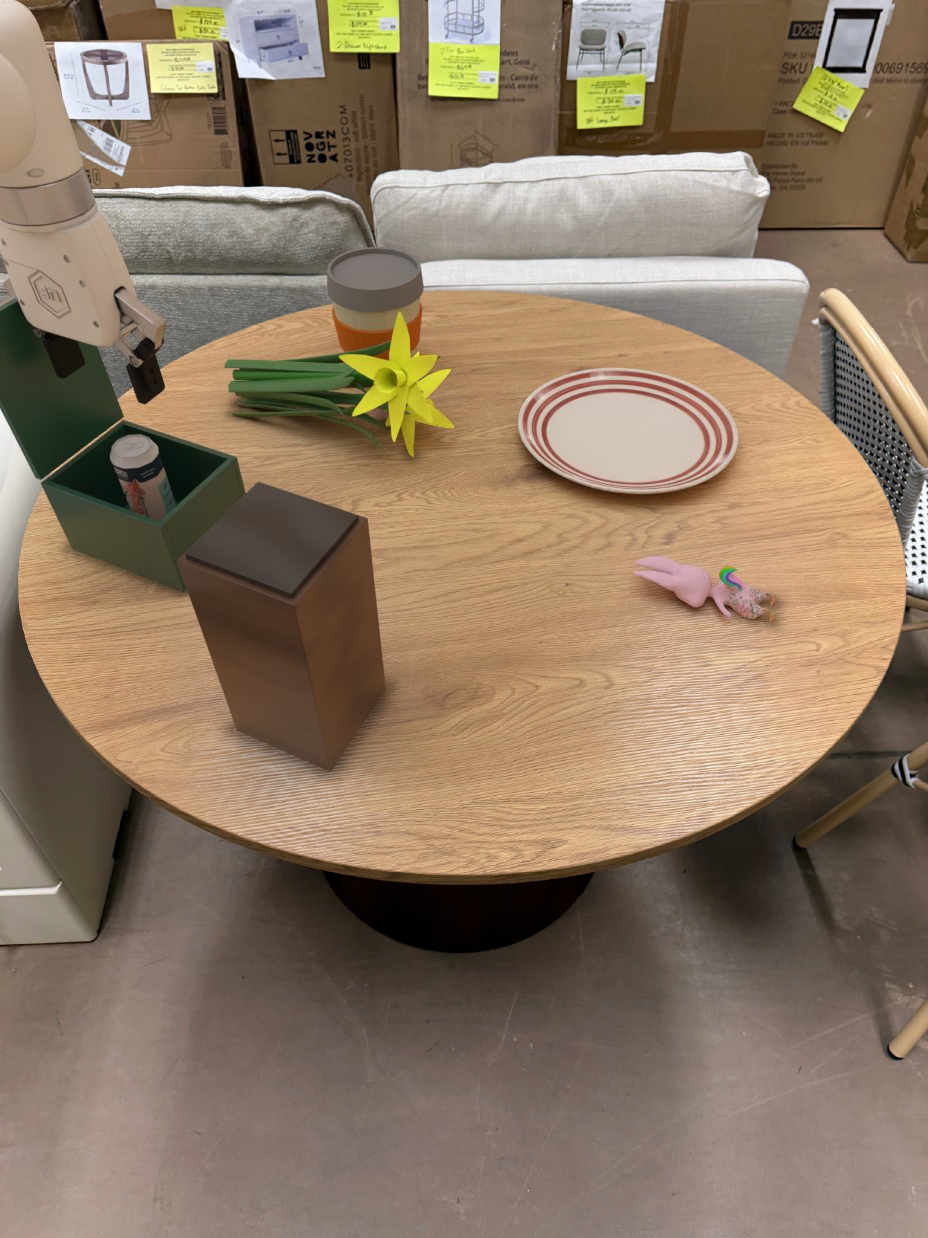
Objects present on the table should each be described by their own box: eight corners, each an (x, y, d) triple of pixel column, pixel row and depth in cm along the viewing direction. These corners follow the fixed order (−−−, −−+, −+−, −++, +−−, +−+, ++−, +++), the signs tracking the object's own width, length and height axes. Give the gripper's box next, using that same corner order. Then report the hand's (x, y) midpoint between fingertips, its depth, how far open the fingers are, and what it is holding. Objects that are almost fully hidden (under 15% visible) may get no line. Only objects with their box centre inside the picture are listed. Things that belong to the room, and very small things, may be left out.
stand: (331, 775, 72) (293, 600, 55) (237, 733, 74) (174, 555, 58) (386, 692, 78) (367, 512, 61) (298, 657, 80) (256, 475, 64)
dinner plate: (473, 430, 106) (473, 408, 103) (623, 363, 117) (626, 342, 115) (622, 545, 92) (627, 523, 89) (777, 456, 103) (785, 434, 100)
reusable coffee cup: (324, 362, 117) (310, 257, 106) (403, 341, 121) (397, 238, 110) (358, 406, 109) (347, 299, 98) (441, 382, 113) (440, 277, 102)
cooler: (253, 525, 93) (237, 456, 86) (185, 596, 86) (160, 527, 79) (147, 487, 98) (123, 419, 90) (73, 552, 90) (39, 482, 83)
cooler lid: (68, 271, 78) (30, 262, 80) (-35, 330, 71) (-75, 319, 72) (124, 416, 90) (90, 406, 91) (41, 480, 82) (5, 468, 84)
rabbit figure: (765, 602, 88) (633, 558, 89) (792, 565, 83) (651, 519, 84) (763, 645, 84) (624, 598, 85) (790, 608, 79) (643, 559, 80)
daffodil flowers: (293, 369, 117) (509, 370, 100) (262, 463, 114) (478, 481, 98) (211, 298, 102) (447, 285, 85) (173, 404, 100) (409, 412, 83)
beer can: (137, 526, 92) (103, 438, 83) (180, 515, 93) (151, 427, 84) (145, 553, 89) (111, 464, 80) (189, 541, 90) (160, 452, 81)
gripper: (-76, 191, 65) (13, 381, 77) (93, 233, 60) (158, 428, 73) (-3, 159, 69) (70, 343, 82) (160, 196, 64) (210, 385, 77)
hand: (111, 383), depth 77 cm, fingers open, 9 cm apart
